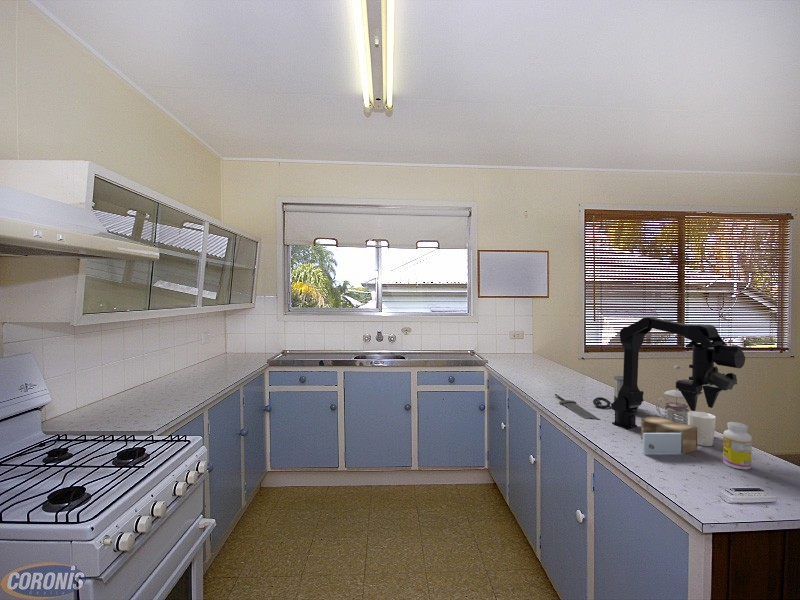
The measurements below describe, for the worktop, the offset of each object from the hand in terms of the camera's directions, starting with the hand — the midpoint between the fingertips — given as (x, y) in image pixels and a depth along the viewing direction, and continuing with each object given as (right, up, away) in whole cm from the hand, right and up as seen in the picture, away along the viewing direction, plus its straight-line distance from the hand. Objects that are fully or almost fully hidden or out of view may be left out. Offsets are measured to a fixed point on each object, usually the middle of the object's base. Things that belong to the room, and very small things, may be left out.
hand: (701, 409), depth 129 cm
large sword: (-21, -14, +50) cm, 56 cm away
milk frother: (-3, -13, +47) cm, 49 cm away
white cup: (+6, -14, +8) cm, 18 cm away
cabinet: (-7, -14, +7) cm, 17 cm away
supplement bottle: (+3, -15, -10) cm, 18 cm away
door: (-14, -14, -2) cm, 20 cm away
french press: (+6, -14, +21) cm, 26 cm away
